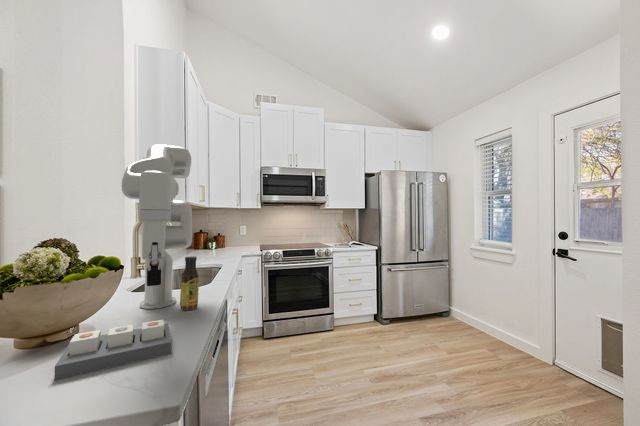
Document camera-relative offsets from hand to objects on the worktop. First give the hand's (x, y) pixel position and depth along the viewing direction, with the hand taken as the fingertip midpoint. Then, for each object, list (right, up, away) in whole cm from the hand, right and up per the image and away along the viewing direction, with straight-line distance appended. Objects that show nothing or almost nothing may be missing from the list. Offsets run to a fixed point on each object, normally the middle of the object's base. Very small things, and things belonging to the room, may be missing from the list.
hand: (153, 282), depth 74 cm
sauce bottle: (-5, -18, +30) cm, 35 cm away
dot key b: (-12, -15, -8) cm, 21 cm away
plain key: (-6, -15, -4) cm, 17 cm away
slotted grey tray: (-6, -17, -4) cm, 19 cm away
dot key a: (0, -15, 0) cm, 15 cm away
